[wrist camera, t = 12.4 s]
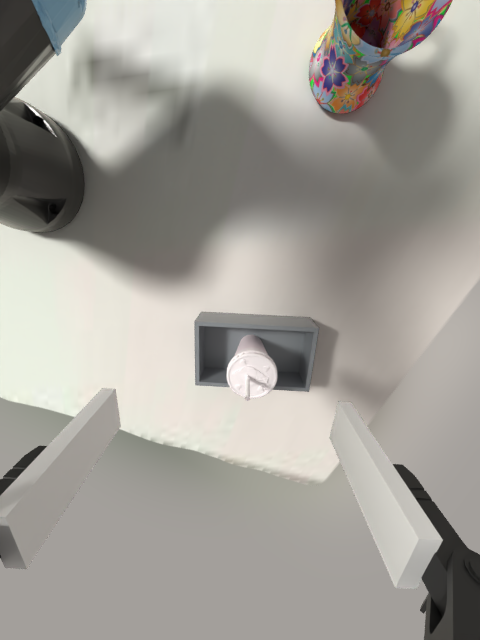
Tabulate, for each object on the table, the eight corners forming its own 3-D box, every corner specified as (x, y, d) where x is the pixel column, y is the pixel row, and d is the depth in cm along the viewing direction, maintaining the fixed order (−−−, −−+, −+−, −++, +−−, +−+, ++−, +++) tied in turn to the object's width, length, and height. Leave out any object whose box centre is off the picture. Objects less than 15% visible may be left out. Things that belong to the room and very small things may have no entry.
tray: (201, 368, 40) (195, 385, 35) (201, 311, 37) (194, 321, 32) (301, 374, 40) (308, 391, 35) (309, 317, 37) (319, 328, 32)
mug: (351, 136, 29) (407, 79, 19) (288, 95, 28) (312, 10, 18) (416, 23, 26) (526, -121, 16) (348, -30, 25) (417, -221, 15)
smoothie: (234, 323, 37) (227, 367, 23) (274, 330, 37) (290, 378, 23) (228, 359, 38) (218, 418, 25) (265, 365, 39) (275, 428, 25)
